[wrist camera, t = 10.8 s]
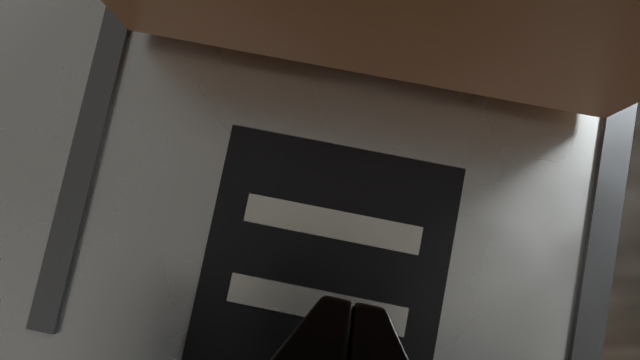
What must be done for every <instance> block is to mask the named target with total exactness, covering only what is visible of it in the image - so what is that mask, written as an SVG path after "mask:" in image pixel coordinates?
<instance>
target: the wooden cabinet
mask: <svg viewBox="0 0 640 360" xmlns="http://www.w3.org/2000/svg"><path fill="white" fill-rule="evenodd" d="M101 1H102V2H103V3H104V5H105V6H106V7H107V8H108V9H109V10H110V11H111V12H112V13H113V14H114V15H115V16H116V17H117V18H118V20H119V21H120V22H121V23H122V24H123V25H124V26H125V27H126V28H127V29H128V30H130V31H136V32H141V33H146V34H152V35H157V36H163V37H168V38H173V39H179V40H184V41H190V42H195V43H200V44H206V45H211V46H217V47H222V48H227V49H233V50H238V51H244V52H249V53H254V54H260V55H265V56H271V57H276V58H281V59H287V60H292V61H298V62H303V63H308V64H314V65H319V66H325V67H330V68H335V69H341V70H346V71H351V72H357V73H362V74H368V75H373V76H378V77H384V78H389V79H395V80H400V81H405V82H411V83H416V84H422V85H427V86H432V87H438V88H443V89H449V90H454V91H459V92H465V93H470V94H476V95H481V96H486V97H492V98H497V99H503V100H508V101H513V102H519V103H524V104H530V105H535V106H540V107H546V108H551V109H557V110H562V111H567V112H573V113H578V114H584V115H589V116H594V117H600V118H607V117H609V116H611V115H613V114H615V113H617V112H619V111H621V110H623V109H625V108H627V107H630V106H632V105H634V104H636V103H638V102H640V0H101Z"/></svg>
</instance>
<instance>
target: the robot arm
mask: <svg viewBox="0 0 640 360" xmlns="http://www.w3.org/2000/svg"><path fill="white" fill-rule="evenodd" d="M271 360H409V359H408V357H407V355H406V353H405V350H404V348H403V346H402V344H401V341H400V339H399V337H398V335H397V332H396V330H395V328H394V326H393V324H392V321H391V319H390V317H389V315H388V313H387V311H386V310H385V309H384V308H382V307H378V306H374V305H369V304H364V303H356V304H355V305H354V306H353V304H352V302H351V301H349V300H346V299H341V298H337V297H332V296H327V295H325V296H322V297H321V298H320V299H319V300H318V301H317V303H316V304H315V305H314V306H313V308H312V309H311V310H310V311H309V312H308V314H307V315H306V316H305V317H304V319H303V320H302V321H301V322H300V324H299V325H298V326H297V327H296V329H295V330H294V331H293V332H292V334H291V335H290V336H289V337H288V338H287V340H286V341H285V342H284V343H283V345H282V346H281V347H280V348H279V350H278V351H277V352H276V353H275V355H274V356H273V357H272V358H271Z"/></svg>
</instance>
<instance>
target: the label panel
mask: <svg viewBox="0 0 640 360" xmlns="http://www.w3.org/2000/svg"><path fill="white" fill-rule="evenodd" d="M637 104H638V103H636V104H634V105H632V106H630V107H627V108H625V109H623V110H621V111H619V112H617V113H615V114H613V115H611V116H609V117H607V118H600V117H594V116H589V115H584V114H578V113H573V112H567V111H562V110H557V109H551V108H546V107H540V106H535V105H530V104H524V103H519V102H513V101H508V100H503V99H497V98H492V97H486V96H481V95H476V94H470V93H465V92H459V91H454V90H449V89H443V88H438V87H432V86H427V85H422V84H416V83H411V82H405V81H400V80H395V79H389V78H384V77H378V76H373V75H368V74H362V73H357V72H351V71H346V70H341V69H335V68H330V67H325V66H319V65H314V64H308V63H303V62H298V61H292V60H287V59H281V58H276V57H271V56H265V55H260V54H254V53H249V52H244V51H238V50H233V49H227V48H222V47H217V46H211V45H206V44H200V43H195V42H190V41H184V40H179V39H173V38H168V37H163V36H157V35H152V34H146V33H141V32H136V31H130V30H128V29H127V28H126V27H125V26H124V25H123V24H122V23H121V22H120V21H119V20H118V18H117V17H116V16H115V15H114V14H113V13H112V12H111V11H110V10H109V9H108V8H107V7H106V6H105V5H104V3H103V2H102V1H101V0H0V360H271V358H272V357H273V356H274V355H275V353H276V352H277V351H278V350H279V348H280V347H281V346H282V345H283V343H284V342H285V341H286V340H287V338H288V337H289V336H290V335H291V334H292V332H293V331H294V330H295V329H296V327H297V326H298V325H299V324H300V322H301V321H302V320H303V319H304V317H305V316H306V315H307V314H308V312H309V311H310V310H311V309H312V308H313V306H314V305H315V304H316V303H317V301H318V300H319V299H320V298H321V297H322V296H325V295H327V296H332V297H337V298H341V299H346V300H349V301H351V302H352V304H353V306H354V305H355V304H356V303H364V304H369V305H374V306H378V307H382V308H384V309H385V310H386V311H387V313H388V315H389V317H390V319H391V321H392V324H393V326H394V328H395V330H396V332H397V335H398V337H399V339H400V341H401V344H402V346H403V348H404V350H405V353H406V355H407V357H408V359H409V360H602V353H603V346H604V338H605V331H606V324H607V317H608V310H609V303H610V296H611V289H612V282H613V274H614V267H615V260H616V253H617V246H618V239H619V232H620V225H621V218H622V210H623V203H624V196H625V189H626V182H627V175H628V168H629V161H630V154H631V147H632V139H633V132H634V125H635V118H636V111H637Z"/></svg>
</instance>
